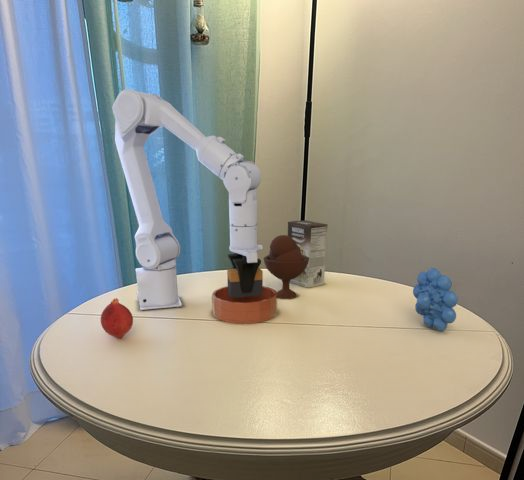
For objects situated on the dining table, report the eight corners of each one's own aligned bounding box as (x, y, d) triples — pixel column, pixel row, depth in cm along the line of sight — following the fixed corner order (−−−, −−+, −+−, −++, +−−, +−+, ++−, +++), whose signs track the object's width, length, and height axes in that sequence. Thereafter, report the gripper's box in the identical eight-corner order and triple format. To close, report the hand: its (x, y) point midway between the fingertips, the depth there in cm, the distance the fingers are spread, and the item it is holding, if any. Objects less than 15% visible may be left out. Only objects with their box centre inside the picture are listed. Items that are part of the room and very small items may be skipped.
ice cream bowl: (309, 301, 108) (312, 238, 103) (263, 301, 109) (262, 238, 103) (306, 289, 118) (308, 231, 112) (263, 289, 118) (263, 231, 112)
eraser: (231, 298, 97) (230, 272, 95) (227, 293, 100) (227, 269, 98) (262, 295, 99) (262, 270, 97) (258, 291, 102) (258, 267, 100)
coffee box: (285, 281, 126) (286, 221, 120) (303, 277, 130) (304, 219, 123) (307, 288, 119) (309, 225, 113) (325, 284, 123) (328, 223, 117)
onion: (117, 346, 84) (111, 305, 81) (97, 340, 87) (90, 300, 84) (141, 336, 88) (136, 297, 85) (121, 330, 91) (115, 292, 88)
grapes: (394, 321, 96) (401, 265, 91) (419, 317, 98) (427, 262, 93) (433, 340, 86) (443, 278, 81) (460, 335, 88) (471, 274, 84)
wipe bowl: (219, 326, 93) (218, 305, 92) (208, 306, 106) (207, 287, 104) (285, 319, 97) (285, 299, 95) (266, 300, 109) (266, 282, 108)
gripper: (272, 229, 88) (271, 296, 94) (253, 219, 101) (253, 279, 106) (236, 230, 86) (238, 299, 92) (222, 220, 99) (224, 281, 105)
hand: (244, 288), depth 99 cm, fingers closed on eraser, 3 cm apart
